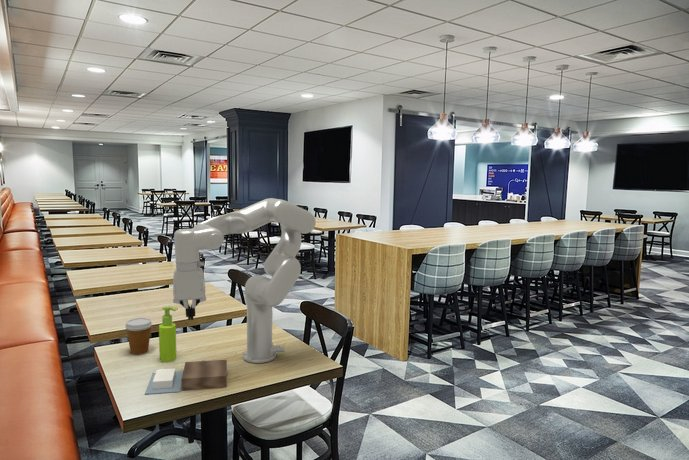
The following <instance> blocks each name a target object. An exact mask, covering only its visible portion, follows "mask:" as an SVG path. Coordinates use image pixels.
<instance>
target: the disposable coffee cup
mask: <svg viewBox="0 0 689 460" xmlns="http://www.w3.org/2000/svg"><path fill="white" fill-rule="evenodd" d="M152 325H153V322H152V321H151V318H147V317H137V318H131V319H129V320H127V321H126V324H125V325H124V327H125V329H126V334H127V338H128V345H129V350H130V353H131V354H132V355H138V356H139V355H143V354H146V353H148V352H149V348H150V339H151V330H152V329H151V328H152Z"/></svg>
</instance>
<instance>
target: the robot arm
mask: <svg viewBox="0 0 689 460" xmlns="http://www.w3.org/2000/svg"><path fill="white" fill-rule="evenodd" d="M271 222H274V223H277V224H280V227H281V228H280V229H281V235H280V239H279V240H278V242H277V243H276V245H275V246H274V248H273V250H272V251H271V252H270V253H269V255H268V256H267V257H266V259H265V261H264V263H263V270H264V272H265V273H266V274H267V275H268V276H270V277H271V278H269V277H267V276H264V275H259V274H257V275H256V274H255V275H252V276H251V277H249V278H248V279H247V281H246V282H245V284H244V296H245V302H246V303H245V304H246V350H245V351H244V352H243V353H242V359H243V360H244V361H246V362H248V363H254V364H261V363H262V364H264V363H268V362H271V361H273V360H274V359H276V357H277V353H285V346H281V345H280V344H279V345H278V344H277V345H274V344H273V318H274V317H273V314H274V313H273V312H274V311H273V308H275V307H277V306H279V305H280V304H282V303H283V301H284V300H285V299H286V298H287V296H288V294H289V293H290V291H291V290H292V289H293V287H294V285H295V284H296V282H297V281H298V279H299V277H300V275H301V271H302V270H301V269H302V267H301V263H300V261H299V260H298V259H297V255H298V253H299V251H300V249H301V247H302V234H309V233H311V232H312V231H314V229H315V227H316V217H315V216H314V215H313V213H311V212H310V211H308V210H307V209H304V208H302V207H299V206H298V205H296V204H294V203H292V202H290V201H287V200H284V199H280V198H279V199H278V198H274V197H270V198H265V199H263V200H260V201H257V202H256V203H253V204H250V205H249V206H246V207H243V208H242V209H240V210H236V211H232V212H229V213H226V214H222V215H220V214H219V215H217V216H214V217H211V218H209V219H206V220H205V221H202V222H200V223H197V224H196V225H195V226H193V228H181V229H177V230H176V231H174V233H173V238H174V256H175V257H174V258H175V269H174V270H173V278H172V279H173V280H172V296H173V300H172V303H173V304H178V305H181V306H182V307H183V308H184V309H185V317H186V318H187V320H188V321H190V320H191V321H194V317H196V307H197V306H198V305H199V304H200V303H203V302H205V301H207V296H206V283H205V282H206V281H205V274H204V270H203V268H202V267H204V266H205V261H201V260H200V251H201V250H202V251H205V250H206V251H208V250H210V251H211V250H216V249H218V248H220V247H221V246H222V245H223V243H224V240H225V237H224V236H226V235H232V234H235V235H236V234H238V235H239V234H247V233H250V232H252V231H254V230H257V229H259V228H260V227H262V226H264V225H267V224H270V223H271ZM190 300H192V303H191V304H189V301H190Z"/></svg>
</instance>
